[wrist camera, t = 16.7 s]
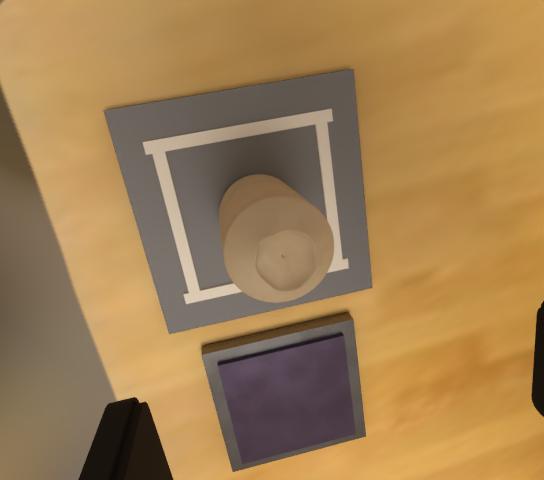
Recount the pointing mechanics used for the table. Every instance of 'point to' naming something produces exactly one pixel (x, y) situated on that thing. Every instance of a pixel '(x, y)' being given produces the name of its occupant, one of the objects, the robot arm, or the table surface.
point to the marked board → (230, 168)
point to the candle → (273, 239)
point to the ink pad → (286, 390)
